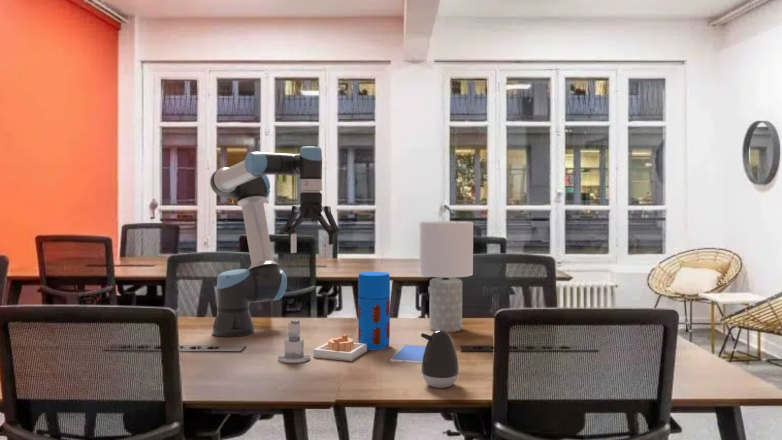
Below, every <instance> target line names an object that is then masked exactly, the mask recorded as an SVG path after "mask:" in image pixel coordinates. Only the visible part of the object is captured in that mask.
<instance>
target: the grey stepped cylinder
mask: <svg viewBox="0 0 782 440" xmlns="http://www.w3.org/2000/svg"><path fill="white" fill-rule="evenodd" d="M287 327H288V338H286V339H285V340H284V353H283V354H280V355H279V356H278V357H277V361H278V362H279V363H282V364H291V365H293V364H295V365H297V364H304V363H306V362H309V361H310V360H311V355H310V354H308V353H305V339H303V338H301V322H300V320H293V319H291V320H290V322H288V326H287Z"/></svg>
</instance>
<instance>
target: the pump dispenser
mask: <svg viewBox="0 0 782 440" xmlns="http://www.w3.org/2000/svg"><path fill="white" fill-rule="evenodd" d="M420 336H421V338H423V339H425V340H427V342H426V345H425V346H426V347H425V351H424V355H423V360H422V364H421V374H422V377H423V379H424V381H425V383H426V384H427V385H429V386H430V387H433V388H436V389H445V388H448V387H451V386H452V385H454V383H455V382H456V381H457V378H458V375H459V373H460V367H459V366H460V365H459V359H458V354H457V350H456V346H455V344H454V342H453V339H452V337H451V335H450V334H449V332H446V331H444V330H437V331H433V332H432V334H431V335H430V334H427V333H423V332H422V333H421V334H420Z"/></svg>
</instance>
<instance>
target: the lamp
mask: <svg viewBox="0 0 782 440" xmlns="http://www.w3.org/2000/svg"><path fill="white" fill-rule="evenodd" d="M418 272H419V275H420V276H424V277H430V278H431V279H430V280H429V330H431V331H433V332H435V331H437V330H444V331H446V332H447V333H455V332H456V331H457V332H460V331H461V330H462V328H463V280H461V279H460V278H467V277H471V276H473V275H474V222H472V221H462V220H461V221H459V220H457V221H456V220H454V221H451V220H450V221H448V220H447V221H446V220H444V221H443V220H435V221H434V220H431V221H429V220H427V221H420V222H419V271H418Z"/></svg>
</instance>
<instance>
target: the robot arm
mask: <svg viewBox="0 0 782 440" xmlns="http://www.w3.org/2000/svg"><path fill="white" fill-rule="evenodd" d="M322 153H323V152H322V148H321V147H319V146H312V145H311V146H301V147H300V149H299V152H298V153H281V152H280V153H279V152H275V153H274V152H266V151H265V152H261V151H250V152H248V153H247V154H246V156H245V159H244V160H243V161H241V162H238V163H236V164H233V165H232V166H230V167H221V168H219V169H216V170H215V171H214V172H213V173H212V174H211V176H210V180H209V185H210V188H211V189H212V191H213V193H215V194H216V195H217V196H219V197H221V198H225V199H236V203H237V205H238V206H239V207H240V208H241V209H242V215H243V221H244V226H245V227H244V229H245V233H246V234H245V235H246V240H247V246H248V253H249V257H250V263H251V264H250V267H248V269H247V268H240V269H239V268H238V269H230V270H227V271H223V272H221V273H219V275H218V276H217V279H216V280H217V281H216V304H217V307H216V309H217V312H216V316H215V319H214V321H213V322H214V323H213V325H212V335H214V336H216V337H226V338H233V337H234V338H235V337H242V336H243V337H244V336H248V335H251V334H253V333H254V332H255V325H254V322H253V319H252V315H251V313H250V304H253V303H261V302H262V303H263V302H272V301H277V300H280V299H281V298H283V296H284V295H285V293H286V290H287V287H288V286H287V285H288V280H287V279H288V277H287V274H286V273H285V271H284V270H282V269H279V263H277V262H276V261H274V257H273V250H272V245H271V240H270V235H269V228H268V222H267V216H266V211H265V210H266V209H265V205H264V204H265V203H266V202H267V198H268V197H269V196H270V193H271V190H270V189H271V184H270V180H269V179H270V178H268V176H267V175H270V176H271V175H273V176H274V175H276V176H290V177H291V176H292V177H295V176H299V190H300V191H301V192H300V193H299V203H300V205H299V206H298V205H292V206H291V211H290V215H288V216H289V217H288V219H287V221H286V223H285V226H284V227H283V232H284V233H287V234H288V244H290V254H296V253H298V252H297V243H298V242H297V241H298V240H297V238H298V237H297V233H296V231H297V230H298V229H299V227H300V226H301V225H302V224H303V222H304V221H305V220H309V219H310V220H316V221H318V223H320V225H321V226H322V228H323V229H324V230H325V232H326V233H327V235H325V251H326V252H325V253H326V256H327V255H332V253H333V252H332V251H333V250H332V247H333V246H332V245H334V244H335V235H336V234H339V233H340V229H339V227H338V225H337V222H336V220H335V219H334V215H333V214H332V208H331V206H330V205H325V206H323V205H322V204H323V193H322V192H321V191H323V154H322ZM299 211H300V214H299V216H298V213H299ZM322 212H323V213H324V215H325V217H326V219H325V218H324V216H323V214H322ZM297 216H298V218H297V219H296V217H297ZM326 220H327V221H326Z"/></svg>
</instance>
